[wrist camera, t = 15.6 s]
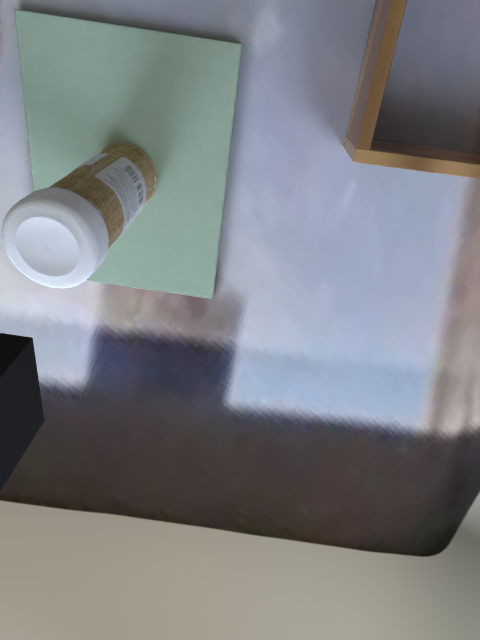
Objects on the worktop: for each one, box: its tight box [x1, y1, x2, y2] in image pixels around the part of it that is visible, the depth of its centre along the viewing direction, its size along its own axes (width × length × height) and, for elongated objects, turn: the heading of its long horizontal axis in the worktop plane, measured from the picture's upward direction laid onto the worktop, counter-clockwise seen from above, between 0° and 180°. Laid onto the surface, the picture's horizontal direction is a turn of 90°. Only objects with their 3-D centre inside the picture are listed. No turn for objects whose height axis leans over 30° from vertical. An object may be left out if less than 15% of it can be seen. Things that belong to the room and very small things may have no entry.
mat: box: [15, 9, 242, 299], centre depth 33 cm, size 18×14×1 cm
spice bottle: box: [2, 143, 158, 288], centre depth 27 cm, size 5×5×14 cm
